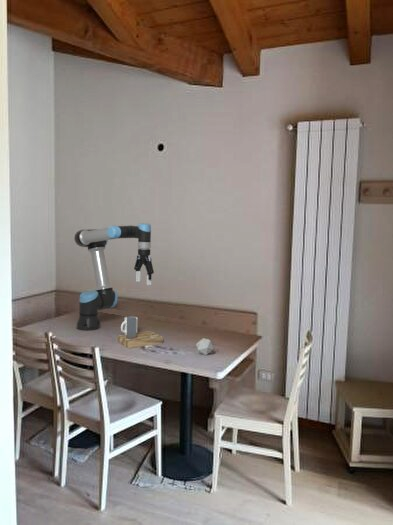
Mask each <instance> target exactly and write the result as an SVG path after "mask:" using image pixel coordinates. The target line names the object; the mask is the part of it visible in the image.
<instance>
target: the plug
mask: <svg viewBox="0 0 393 525" xmlns="http://www.w3.org/2000/svg"><path fill="white" fill-rule="evenodd" d="M126 317H127V337H126V338H128V339H133V338H136V317H137V316H134V315H130V316H126Z"/></svg>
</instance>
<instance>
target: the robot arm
mask: <svg viewBox="0 0 393 525" xmlns="http://www.w3.org/2000/svg"><path fill="white" fill-rule="evenodd" d="M151 234H152V225H151V224H150V223H145V222H143V223H138V225H111V226H109V227H103V228H96V229H95V228H94V229H80V230H78V231H76V233H75V234H74V242H75V244H76V245H78V246H79V247H81V248H87V251H88V252H90V255H91V261H92V267H93V273H94V279H95V280H94V281H95V285H96V288H95V289H94V290H86V291H83V292H81V293H80V295H79V299H78V300H79V309H78V310H79V316H78V319H77V322H76V329H77V330H80V331H94V330H95V331H96V330H98V329H100V328H101V321H100V318H99V313H98V312H99V311H102V310H107V309H108V310H109V309H112V308H114V307H115V306H116V305H117V304H118V301H119V300H118V299H119V298H118V296H119V295H118V293H117V291H115V290H114V289H113V287H112V286H111V285H110V279H109V274H108V268H107V260H106V257H105V256H106V255H105V250H106V246H107V245H108V240H110V241H111V240H117V239H138V242H137V248H138V249H137V255H136V260H135V264H134V266H133V270H135V282H139V283H140V282H141V272H142V271H141V269H142V267H143V265H144V266H145V269H146V270H145V271H146V272H147V273H146V286H151V285H152V276H153V274H155V271H154V267H153V263H152V257H149V256H150V255H151V248H152V247H151V241H152V240H151V239H152V238H151V237H152V235H151Z"/></svg>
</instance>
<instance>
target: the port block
mask: <svg viewBox="0 0 393 525" xmlns="http://www.w3.org/2000/svg"><path fill="white" fill-rule="evenodd" d="M126 337H127V334H126V335H125V334H120V335H118V336H117V343H118V342H119V344H120V345H122V346H123V347H125V348H127V349H135V348H140V347H141V346H142V347H146V346H147V345H148V346H153V345H158V344H160V345H161V344H163V343H164V342H163V341H164V340H163V338H164V337H163V336H162V335H160V334H158V333H156V332H154V331H151V330H148V331H141V332H137V333H136V338H133V339H128V338H126ZM148 346H147V347H148Z"/></svg>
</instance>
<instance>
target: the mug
mask: <svg viewBox="0 0 393 525" xmlns="http://www.w3.org/2000/svg"><path fill="white" fill-rule="evenodd" d="M127 317H128V316H124V321H122V323H121V325H120V331H121V333H122V334H123V335H126V334H127ZM135 317H136V333H138V326H139V325H138V324H139V323H138V321H139V320H138V319H139V318H138V317H137V316H135Z"/></svg>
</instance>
